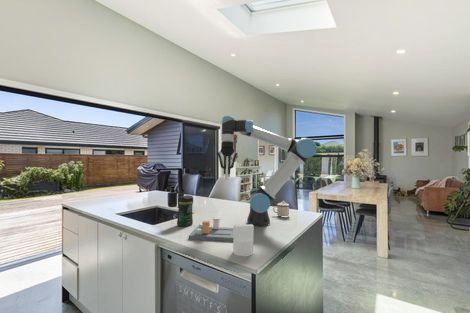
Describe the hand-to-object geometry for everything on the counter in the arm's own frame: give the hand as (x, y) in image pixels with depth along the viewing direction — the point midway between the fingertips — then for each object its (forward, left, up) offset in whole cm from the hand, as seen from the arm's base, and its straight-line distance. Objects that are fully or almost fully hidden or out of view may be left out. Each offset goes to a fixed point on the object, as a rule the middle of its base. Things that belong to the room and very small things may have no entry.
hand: (226, 179), depth 147 cm
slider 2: (+4, +12, -27) cm, 30 cm away
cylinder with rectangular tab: (-13, +38, -30) cm, 50 cm away
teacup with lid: (-37, -37, -30) cm, 60 cm away
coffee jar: (+26, -1, -30) cm, 39 cm away
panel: (+4, +16, -29) cm, 34 cm away
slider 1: (+8, +21, -27) cm, 35 cm away
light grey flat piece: (+11, +11, -25) cm, 30 cm away
